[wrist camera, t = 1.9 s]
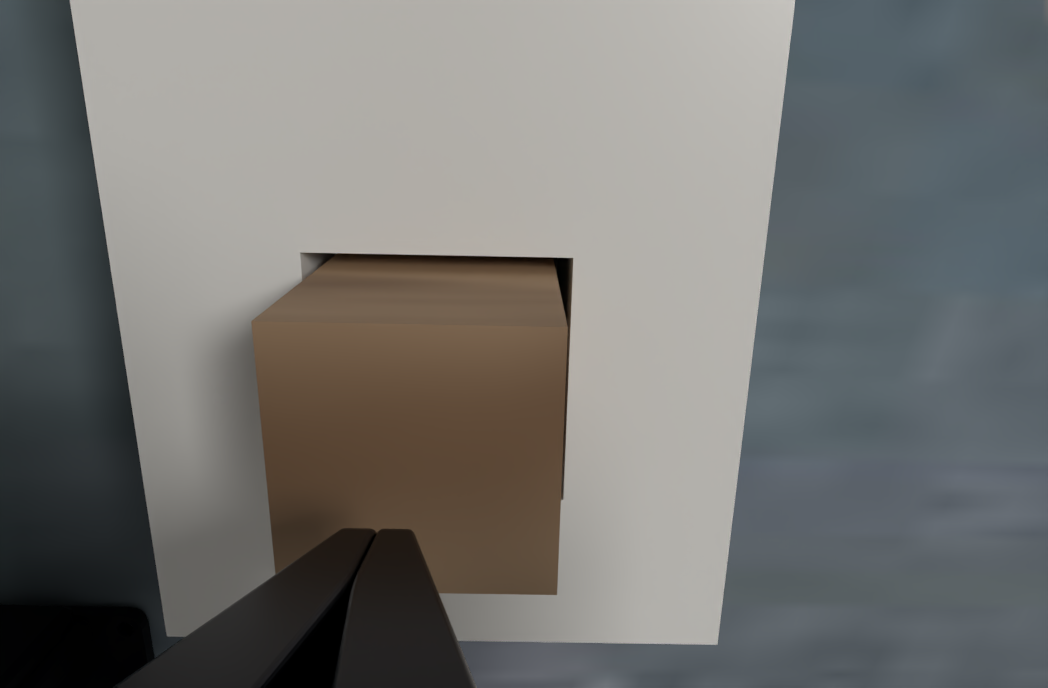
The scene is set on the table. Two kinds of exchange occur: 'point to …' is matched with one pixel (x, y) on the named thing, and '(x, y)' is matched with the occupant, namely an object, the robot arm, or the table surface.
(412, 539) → the robot arm
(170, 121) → the white peg base
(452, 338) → the peg
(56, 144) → the table surface
